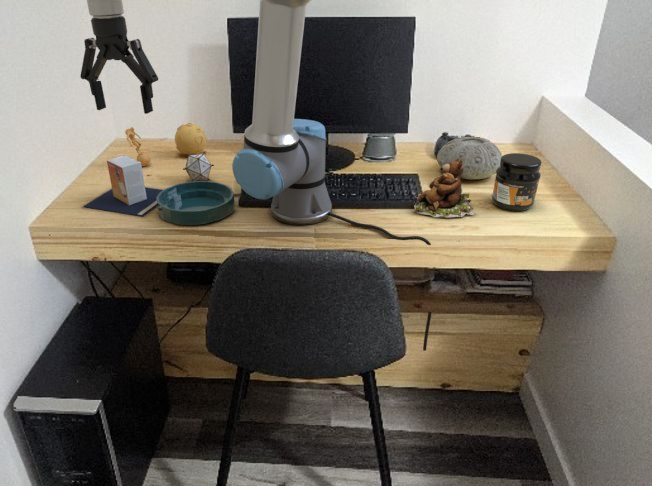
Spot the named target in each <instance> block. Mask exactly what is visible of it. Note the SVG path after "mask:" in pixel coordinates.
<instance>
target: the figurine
mask: <svg viewBox="0 0 652 486" xmlns="http://www.w3.org/2000/svg"><path fill="white" fill-rule="evenodd" d="M124 132H125V135H126V140H127V142H128V144H129V146H130V147H131V148H133V146H135V151H136V153H137V156H136V161H138V162H141V165H142V167H146V166H148V165H149V164H150V162H151V158H150V155H148V154H147V153H145V152H144V151H142V150H141V149H140V148H141V146H142V143H141V142H140V141H139V140H138V139H137V138H136V137H138V138H139V139H140V140H142V137H141V136H139V134H137V133H136V132H135V128H134V127H133V126H131V127H129V128H126V129H125V131H124Z"/></svg>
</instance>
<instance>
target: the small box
mask: <svg viewBox="0 0 652 486" xmlns="http://www.w3.org/2000/svg"><path fill="white" fill-rule="evenodd" d="M106 164H107V165H106V166H107V170H108V174H109V180H110V186H111V189H112V191H113V196H114V197H115V198H117V199H119V200H121V201H122V202H124V203H126V204H127V205H132V204H135V203H138V202H141V201H144V200H146V199H147V197H146V190H145V187H146V185H145V178H144V172H143V166H142V165H141V162H138V161H137V159H134V158H132V157H129V156H128V155H121V156H117V157H114V158H113V157H112V158H110V159H107V160H106Z"/></svg>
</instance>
